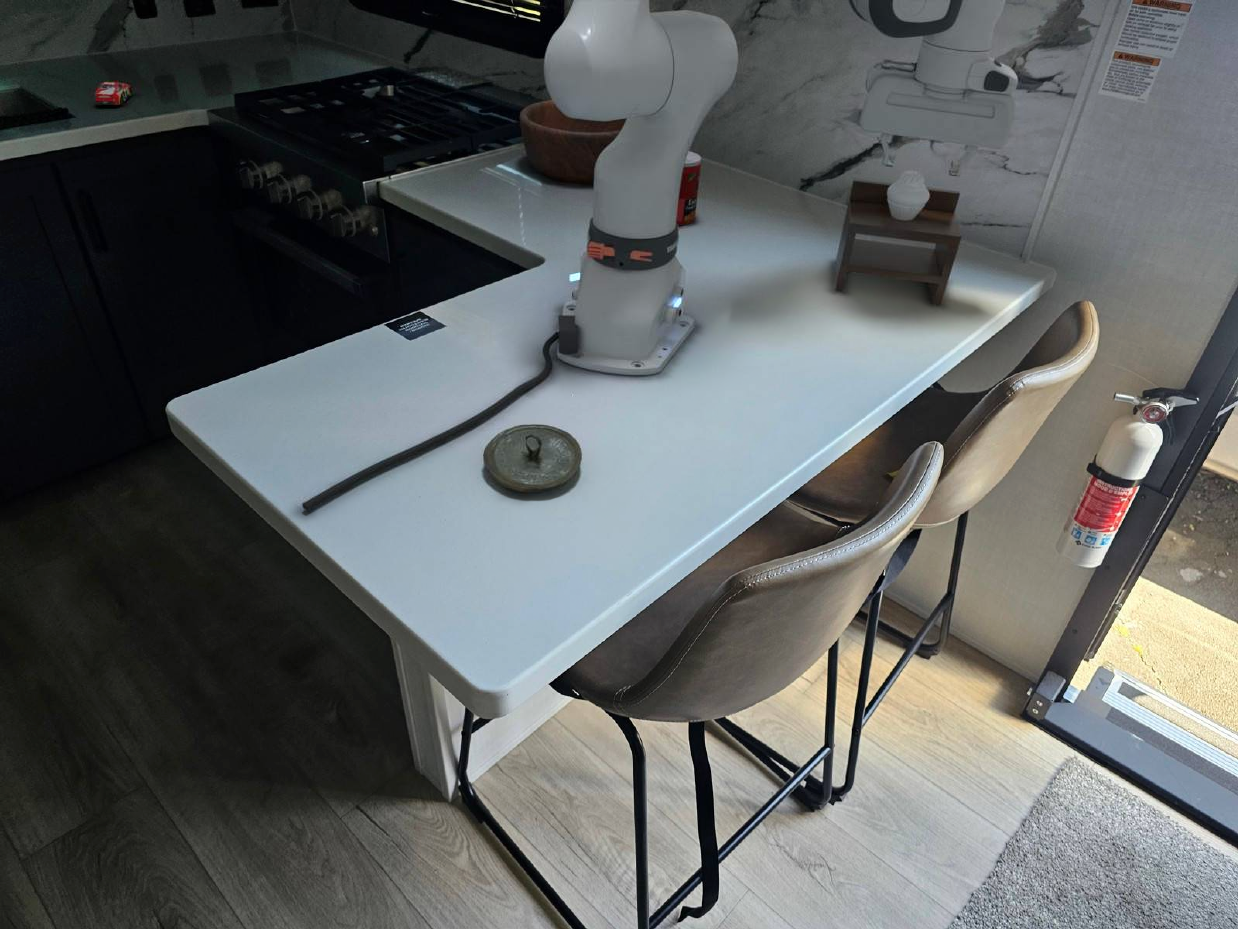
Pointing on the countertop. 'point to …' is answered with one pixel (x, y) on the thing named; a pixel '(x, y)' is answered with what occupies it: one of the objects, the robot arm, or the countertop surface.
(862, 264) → the shelf
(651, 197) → the robot arm
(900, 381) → the countertop surface
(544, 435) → the lid
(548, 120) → the wooden bowl
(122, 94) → the race car
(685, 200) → the canned food
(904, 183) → the muffin
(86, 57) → the countertop surface
